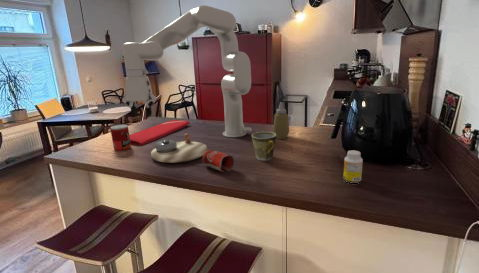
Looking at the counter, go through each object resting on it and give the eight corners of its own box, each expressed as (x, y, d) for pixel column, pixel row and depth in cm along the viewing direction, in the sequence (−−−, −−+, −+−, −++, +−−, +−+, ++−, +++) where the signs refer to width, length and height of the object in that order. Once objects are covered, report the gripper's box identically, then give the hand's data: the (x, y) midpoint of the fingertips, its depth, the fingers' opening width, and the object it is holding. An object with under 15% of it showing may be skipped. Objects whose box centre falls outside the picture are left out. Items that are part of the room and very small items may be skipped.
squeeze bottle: (271, 139, 143) (270, 103, 138) (275, 134, 150) (275, 100, 145) (287, 140, 140) (287, 104, 135) (290, 136, 147) (291, 101, 142)
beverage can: (214, 162, 117) (213, 146, 115) (235, 169, 109) (234, 153, 107) (200, 167, 112) (199, 151, 110) (221, 175, 104) (220, 158, 102)
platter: (213, 144, 135) (212, 133, 133) (197, 163, 112) (196, 150, 111) (165, 143, 139) (164, 133, 138) (140, 161, 117) (139, 149, 115)
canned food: (125, 151, 134) (121, 128, 131) (110, 150, 136) (106, 128, 132) (134, 146, 141) (131, 124, 138) (119, 145, 143) (116, 124, 140)
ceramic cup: (248, 156, 121) (247, 133, 118) (269, 152, 125) (268, 130, 122) (262, 166, 110) (262, 141, 107) (285, 162, 114) (285, 137, 111)
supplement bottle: (346, 176, 99) (348, 148, 96) (363, 180, 95) (365, 151, 93) (340, 182, 95) (342, 153, 92) (357, 186, 91) (360, 156, 88)
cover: (180, 146, 130) (179, 137, 129) (172, 153, 121) (171, 144, 120) (161, 146, 131) (160, 137, 130) (152, 152, 123) (151, 143, 122)
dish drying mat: (118, 143, 148) (117, 136, 147) (170, 124, 183) (170, 118, 182) (141, 147, 141) (140, 139, 140) (190, 126, 176) (190, 120, 175)
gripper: (159, 72, 121) (164, 114, 126) (122, 73, 124) (128, 114, 129) (151, 74, 114) (156, 118, 119) (111, 75, 117) (119, 118, 122)
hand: (142, 116), depth 124 cm, fingers open, 5 cm apart
